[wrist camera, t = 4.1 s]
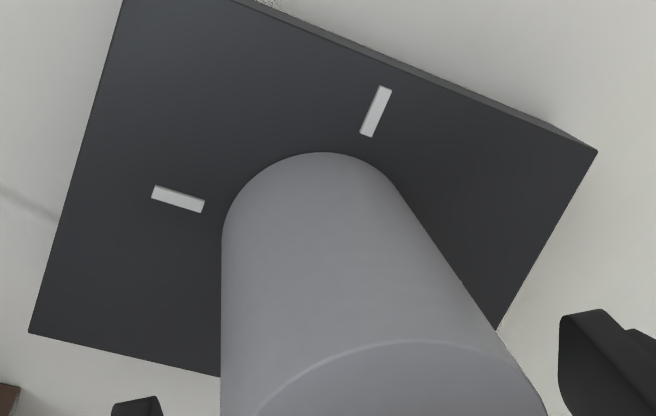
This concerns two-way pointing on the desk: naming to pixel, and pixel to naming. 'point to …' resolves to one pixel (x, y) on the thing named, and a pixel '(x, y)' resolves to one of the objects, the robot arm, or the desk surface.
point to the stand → (8, 399)
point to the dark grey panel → (265, 150)
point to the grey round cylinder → (350, 305)
